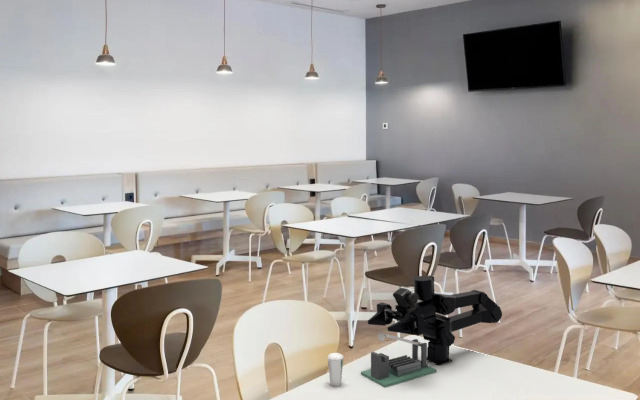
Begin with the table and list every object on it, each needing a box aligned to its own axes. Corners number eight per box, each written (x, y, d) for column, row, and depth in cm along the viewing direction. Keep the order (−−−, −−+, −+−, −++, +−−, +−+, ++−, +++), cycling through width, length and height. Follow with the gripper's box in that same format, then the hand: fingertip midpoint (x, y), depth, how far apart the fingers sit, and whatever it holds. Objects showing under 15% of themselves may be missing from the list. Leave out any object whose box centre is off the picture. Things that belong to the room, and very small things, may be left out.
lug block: (381, 373, 183) (381, 349, 183) (388, 377, 180) (389, 353, 180) (370, 375, 181) (370, 352, 180) (378, 380, 178) (378, 356, 177)
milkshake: (344, 388, 175) (344, 354, 174) (326, 386, 176) (326, 353, 175) (347, 381, 179) (347, 348, 178) (329, 380, 180) (329, 347, 179)
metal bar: (416, 348, 190) (418, 341, 190) (421, 351, 188) (424, 343, 188) (377, 338, 181) (379, 331, 181) (382, 341, 179) (384, 333, 179)
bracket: (416, 361, 192) (416, 338, 191) (428, 367, 188) (428, 343, 187) (410, 363, 191) (410, 340, 190) (422, 368, 186) (422, 344, 186)
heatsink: (405, 363, 191) (405, 354, 190) (421, 370, 185) (421, 361, 185) (382, 369, 186) (382, 360, 186) (397, 377, 180) (398, 368, 180)
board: (411, 360, 195) (411, 357, 195) (436, 372, 186) (436, 369, 186) (360, 374, 185) (360, 371, 184) (384, 387, 175) (384, 384, 175)
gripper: (395, 281, 194) (355, 293, 186) (437, 291, 179) (396, 305, 170) (398, 315, 196) (359, 329, 187) (440, 328, 180) (399, 343, 172)
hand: (377, 325), depth 179 cm, fingers open, 9 cm apart
